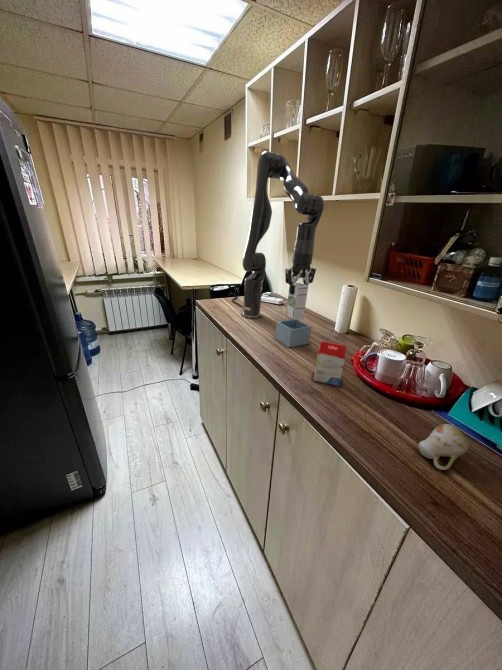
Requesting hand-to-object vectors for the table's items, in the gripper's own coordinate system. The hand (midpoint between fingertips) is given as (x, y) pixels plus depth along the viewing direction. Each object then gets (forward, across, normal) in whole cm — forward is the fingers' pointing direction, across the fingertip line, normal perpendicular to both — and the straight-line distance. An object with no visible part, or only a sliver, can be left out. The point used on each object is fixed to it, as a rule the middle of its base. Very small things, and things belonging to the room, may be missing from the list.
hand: (297, 293), depth 113 cm
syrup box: (+11, 0, 0) cm, 11 cm away
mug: (+22, +6, +67) cm, 71 cm away
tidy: (+22, 0, 0) cm, 22 cm away
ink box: (+22, +8, +31) cm, 39 cm away
